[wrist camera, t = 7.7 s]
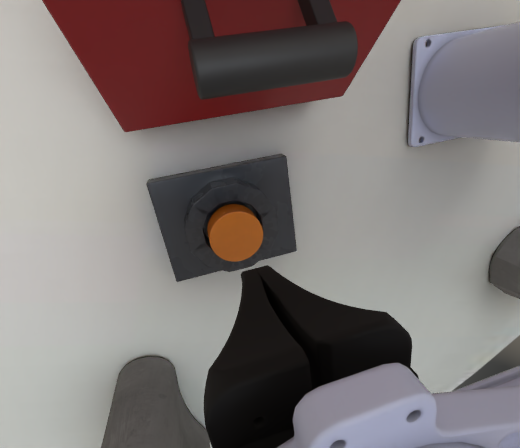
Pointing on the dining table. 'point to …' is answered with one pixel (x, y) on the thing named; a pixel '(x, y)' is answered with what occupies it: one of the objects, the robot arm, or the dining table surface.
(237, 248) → the power button
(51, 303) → the dining table surface
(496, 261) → the coffeepot
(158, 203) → the switch box
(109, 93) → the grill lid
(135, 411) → the flask
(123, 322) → the dining table surface
